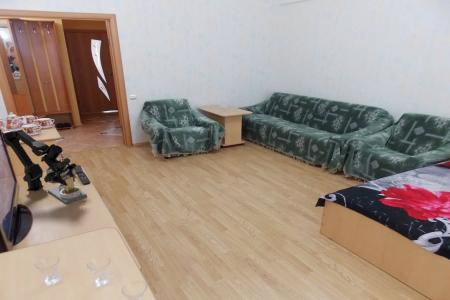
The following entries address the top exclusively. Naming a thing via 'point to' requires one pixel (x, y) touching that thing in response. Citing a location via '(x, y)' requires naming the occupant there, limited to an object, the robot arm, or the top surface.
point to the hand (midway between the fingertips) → (70, 183)
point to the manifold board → (57, 194)
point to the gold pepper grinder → (69, 185)
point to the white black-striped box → (60, 174)
